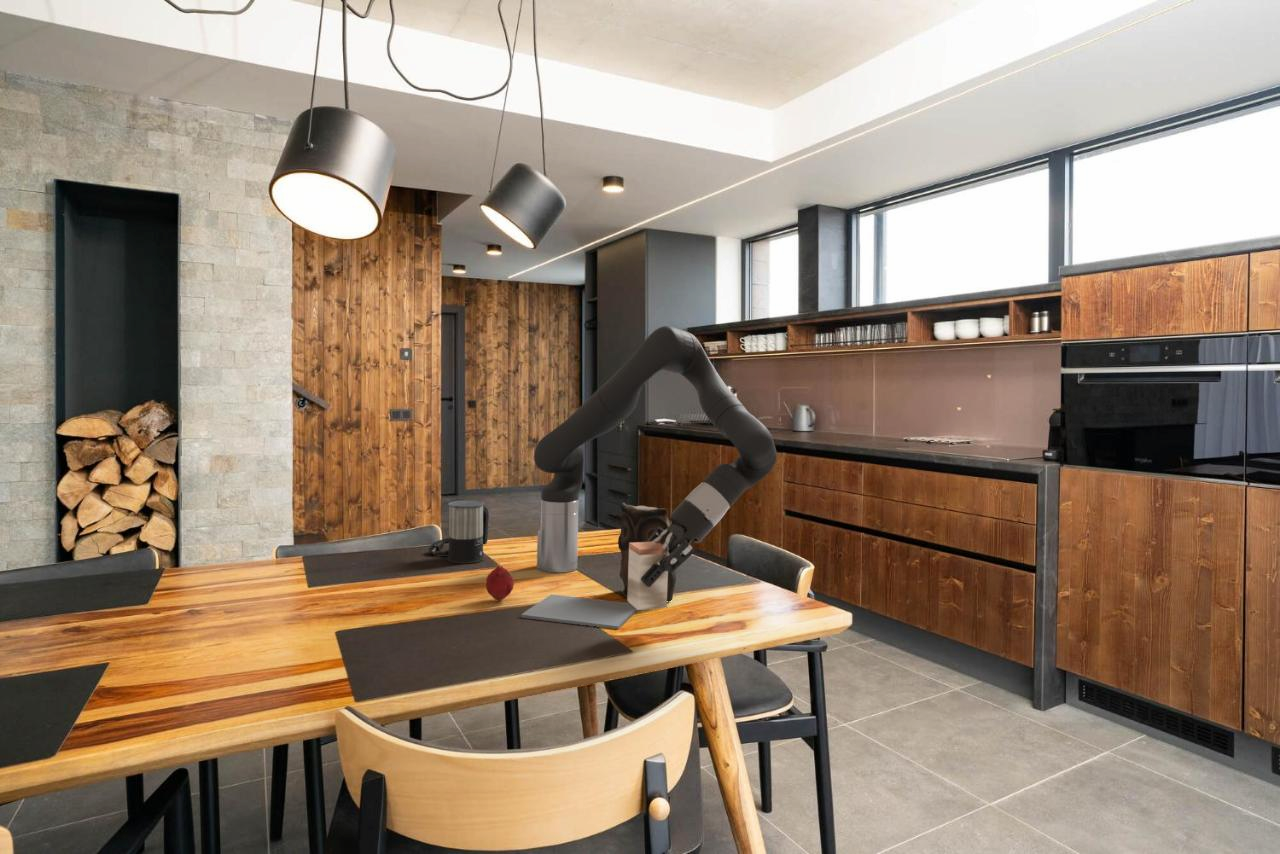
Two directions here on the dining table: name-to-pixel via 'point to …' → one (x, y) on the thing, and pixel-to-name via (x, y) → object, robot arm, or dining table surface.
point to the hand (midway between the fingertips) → (638, 578)
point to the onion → (499, 583)
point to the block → (639, 564)
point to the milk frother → (465, 532)
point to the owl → (641, 536)
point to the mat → (581, 611)
